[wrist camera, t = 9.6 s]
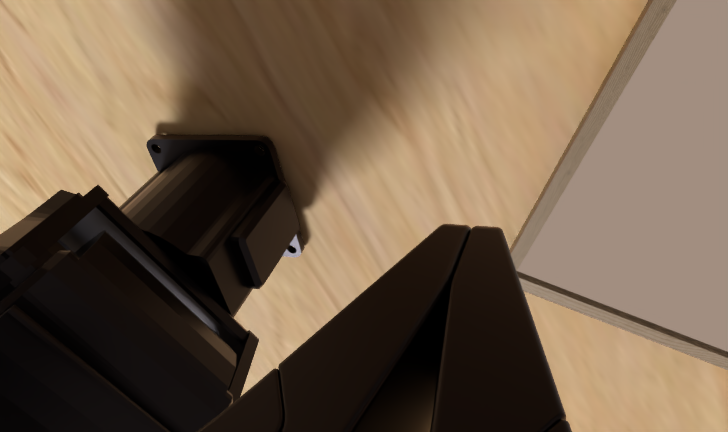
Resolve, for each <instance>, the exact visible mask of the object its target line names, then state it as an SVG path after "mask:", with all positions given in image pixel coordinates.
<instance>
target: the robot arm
mask: <svg viewBox="0 0 728 432" xmlns="http://www.w3.org/2000/svg"><path fill="white" fill-rule="evenodd" d="M158 146H159V147H160V148H159V147H158ZM259 146H262V147H263V148H264V150H265V151H263V150H262V149H260V147H259ZM147 148H148V151H149V153H150V155H151V157H152V159H153V162H154V164H155V166H156V168H157V170H158V172H157V173H156V174H155V175H154V176H153V177H152V178H151V179H150V180H149V181H148V182H146V183H145V184H144V185H143V186H142V187H141V188H140V189H139V190H138V191H137V192H135V193H134V194H133V195H132V196H131V197H130V198H129V199H128V200H127V201H126V202H125V203H123V204H122V205H121V206H120V207H119V208H118V207H117V206H116V205H115V204H114V203H113V202H112V201H111V200H110V199H109V198H108V196H109V195H108V194H107V193H106V192H105V191H104V190H103V189H102V188H101V187H100V186H99V185H97V186H96V187H94V188H93V189H92V190H91V191H90V192H88V193H87V194H86V195H85V196H82V195H81V194H80V193H77V194H73V193H70V192H67V191H64V190H60V191H59V192H57V193H56V194H55V195H54V196H52V197H51V198H50V199H48V200H47V201H46V202H45V203H43V204H42V205H41V206H40V207H38V208H37V209H36V210H34V211H33V212H32V213H30V214H29V215H28V216H26V217H25V218H24V219H22V220H21V221H19V222H18V223H16V224H15V225H13V226H12V227H11V228H9V229H8V230H6V231H5V232H3V233H2V234H0V432H572V431H571V428H570V425H569V423H568V421H566V414H565V412H564V409H563V406H562V403H561V400H560V397H559V394H558V391H557V388H556V385H555V382H554V379H553V376H552V373H551V371H550V368H549V365H548V362H547V359H546V356H545V353H544V350H543V347H542V344H541V341H540V338H539V335H538V333H537V330H536V327H535V324H534V321H533V318H532V315H531V312H530V309H529V306H528V303H527V300H526V297H525V294H524V292H523V289H522V286H521V283H520V280H519V277H518V274H517V271H516V268H515V265H514V262H513V259H512V256H511V253H510V251H509V248H508V245H507V242H506V239H505V236H504V233H503V231H502V229H501V228H499V227H487V226H475V227H473V228H472V229H471V228H470V227H469V226H467V225H455V224H443V225H441V226H440V227H438V228H437V229H436V230H435V231H434V232H432V233H431V234H430V235H429V236H428V237H427V238H425V239H424V240H423V241H422V242H421V243H420V244H419V245H417V246H416V247H415V248H414V249H413V250H412V251H410V252H409V253H408V254H407V255H406V256H405V257H403V258H402V259H401V260H400V261H399V262H398V263H396V264H395V265H394V266H393V267H392V268H391V269H389V270H388V271H387V272H386V273H385V274H384V275H383V276H381V277H380V278H379V279H378V280H377V281H376V282H374V283H373V284H372V285H371V286H370V287H369V288H367V289H366V290H365V291H364V292H363V293H362V294H360V295H359V296H358V297H357V298H356V299H355V300H353V301H352V302H351V303H350V304H349V305H348V306H346V307H345V308H344V309H343V310H342V311H341V312H340V313H338V314H337V315H336V316H335V317H334V318H333V319H331V320H330V321H329V322H328V323H327V324H326V325H324V326H323V327H322V328H321V329H320V330H319V331H317V332H316V333H315V334H314V335H313V336H312V337H310V338H309V339H308V340H307V341H306V342H305V343H303V344H302V345H301V346H300V347H299V348H298V349H297V350H295V351H294V352H293V353H292V354H291V355H290V356H288V357H287V358H286V359H285V360H284V361H283V362H281V363H280V364H279V367H278V368H279V370H278V369H273V370H272V371H271V372H269V373H268V374H267V375H266V376H265V377H264V378H263V379H261V380H260V381H259V382H258V383H257V384H256V385H254V386H253V387H252V388H251V389H250V390H248V391H247V392H246V393H245V394H243V395H242V396H241V393H242V390H243V387H244V384H245V381H246V378H247V375H248V372H249V369H250V366H251V363H252V360H253V357H254V354H255V351H256V348H257V345H258V342H259V339H258V338H257V337H256V336H255V335H254V334H253V333H252V332H251V331H247V330H245V329H244V328H243V327H242V326H241V325H240V324H239V323H238V322H237V321H236V320H235V319H234V316H235V315H236V313H237V312H238V310H239V309H240V307H241V306H242V304H243V303H244V301H245V300H246V298H247V297H248V295H249V294H250V292H251V291H252V289H253V288H254V289H260V288H261V287H262V286H263V285H264V283H265V282H266V280H267V279H268V277H269V276H270V274H271V272H272V271H273V269H274V268H275V266H276V265H277V263H278V262H279V260H280V259H281V257H282V256H286V257H298V256H300V255H301V253H302V251H303V250H304V243H303V239H302V236H301V233H300V225H299V222H298V219H297V215H296V212H295V209H294V205H293V202H292V199H291V195H290V192H289V189H288V186H287V184H286V183H285V180H284V177H283V173H282V170H281V167H280V163H279V160H278V157H277V154H276V150H275V147H274V145H273V143H272V141H271V140H270V139H269V138H267V137H265V136H247V135H155V136H153V137H152V138H151V139H150V140H148V142H147ZM292 246H293V247H292ZM294 247H295V248H294ZM240 396H241V397H240Z"/></svg>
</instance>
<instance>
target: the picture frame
mask: <svg viewBox="0 0 728 432" xmlns="http://www.w3.org/2000/svg"><path fill="white" fill-rule="evenodd" d="M509 251H510V253H511V256H512V259H513V262H514V265H515V268H516V271H517V274H518V277H519V280H520V283H521V286H522V289H523V291H525V292H527V293H530V294H533V295H535V296H538V297H540V298H543V299H545V300H548V301H551V302H553V303H556V304H558V305H561V306H564V307H566V308H569V309H571V310H574V311H576V312H579V313H582V314H584V315H587V316H589V317H592V318H595V319H597V320H600V321H602V322H605V323H607V324H610V325H613V326H615V327H618V328H620V329H623V330H625V331H628V332H631V333H633V334H636V335H638V336H641V337H644V338H646V339H649V340H651V341H654V342H656V343H659V344H662V345H664V346H667V347H669V348H672V349H675V350H677V351H680V352H682V353H685V354H687V355H690V356H693V357H695V358H698V359H700V360H703V361H706V362H708V363H711V364H713V365H716V366H718V367H721V368H724V369H726V370H728V0H648V2H647V4H646V6H645V8H644V9H643V11H642V13H641V15H640V17H639V18H638V20H637V22H636V24H635V26H634V27H633V29H632V31H631V33H630V35H629V36H628V38H627V40H626V42H625V44H624V45H623V47H622V49H621V51H620V53H619V54H618V56H617V58H616V60H615V62H614V63H613V65H612V67H611V69H610V70H609V72H608V74H607V76H606V78H605V79H604V81H603V83H602V85H601V87H600V88H599V90H598V92H597V94H596V96H595V97H594V99H593V101H592V103H591V105H590V106H589V108H588V110H587V112H586V114H585V115H584V117H583V119H582V121H581V123H580V124H579V126H578V128H577V130H576V132H575V133H574V135H573V137H572V139H571V141H570V142H569V144H568V146H567V148H566V149H565V151H564V153H563V155H562V157H561V158H560V160H559V162H558V164H557V166H556V167H555V169H554V171H553V173H552V175H551V176H550V178H549V180H548V182H547V184H546V185H545V187H544V189H543V191H542V193H541V194H540V196H539V198H538V200H537V202H536V203H535V205H534V207H533V209H532V211H531V212H530V214H529V216H528V218H527V220H526V221H525V223H524V225H523V227H522V228H521V230H520V232H519V234H518V236H517V237H516V239H515V241H514V243H513V245H512V246H511V248H510V250H509Z"/></svg>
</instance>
